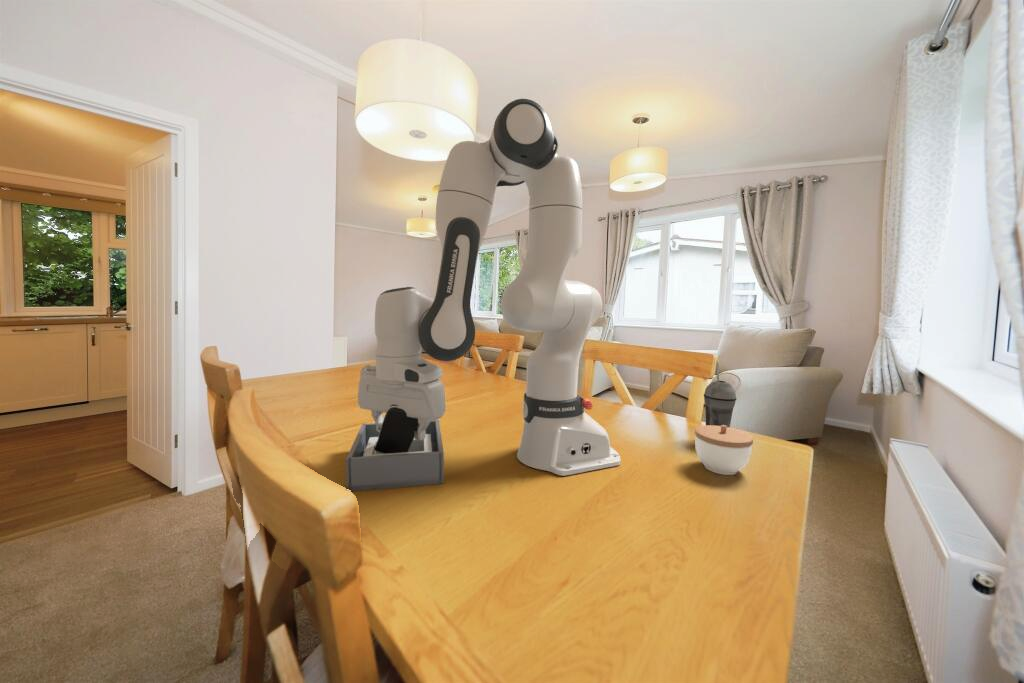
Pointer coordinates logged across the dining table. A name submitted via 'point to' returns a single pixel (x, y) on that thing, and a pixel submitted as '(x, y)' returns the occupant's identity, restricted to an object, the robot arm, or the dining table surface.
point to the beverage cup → (719, 402)
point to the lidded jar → (723, 448)
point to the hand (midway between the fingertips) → (400, 434)
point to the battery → (396, 431)
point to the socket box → (395, 461)
